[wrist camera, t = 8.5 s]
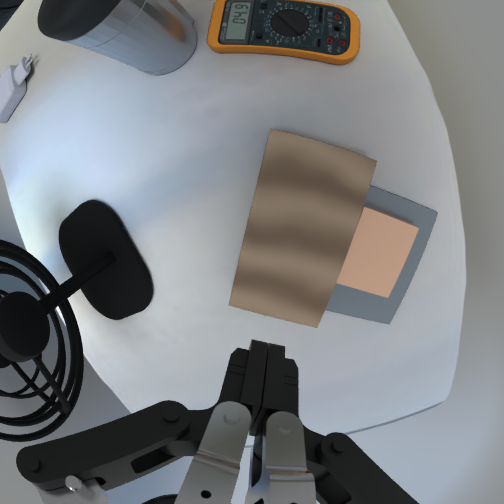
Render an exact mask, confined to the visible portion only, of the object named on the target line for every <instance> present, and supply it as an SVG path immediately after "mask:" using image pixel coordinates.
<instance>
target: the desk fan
mask: <svg viewBox="0 0 504 504" xmlns="http://www.w3.org/2000/svg"><path fill="white" fill-rule="evenodd" d="M59 245H60V249H61V253H62V256H63V258H64V260H65V262H66V264H67V266H68V268H69V270H70V272H71V273H72V275H73V276H72V277H71V278H69V279H68V280H67V281H65V282H64V283H62V284H61V285H59V284H58V282H57V281H56V279H55V278H54V277H53V275H52V274H51V273H50V272H49V271H48V270H47V268H46V267H45V266H44V265H43V264H42V263H41V262H40V261H39V260H37V259H36V258H35V257H34V256H33V255H31V254H30V253H28V252H27V251H25V250H24V249H22V248H20V247H19V246H16V245H14V244H12V243H10V242H7V241H4V240H0V248H1V249H0V256H2V257H6V258H9V259H12V260H14V261H17V262H19V263H20V264H22V265H24V266H25V267H27V268H28V269H29V270H31V271H32V272H33V273H34V274H35V275H36V276H37V277H38V278H39V279H40V280H41V281H42V282H43V283H44V284H45V286H46V287H47V288H48V290H49V291H50V293H48V294H47V295H45V294H44V292H43V291H42V290H41V289H40V288H39V286H38V285H37V284H36V283H35V282H34V281H33V280H32V279H31V278H30V277H29V276H28V275H26V274H25V273H24V272H22V271H21V270H19V269H18V268H16V267H14V266H13V265H11V264H8V263H6V262H2V261H0V273H1V274H9V275H13V276H15V277H18V278H20V279H22V280H23V281H25V282H26V283H27V284H29V285H30V286H31V288H32V289H33V290H34V291H35V292H36V293H37V295H38V296H39V297H40V298H41V299H40V300H39V301H38V300H36V299H35V298H34V297H33V296H31V295H30V294H28V293H25V292H12V293H7V292H5V291H3V290H0V368H5V367H7V366H9V365H10V364H11V365H12V366H13V367H14V369H15V370H16V371H17V372H18V374H19V375H20V376H21V377H22V378H23V379H24V381H25V382H26V383H27V385H26V386H25V387H24V388H23V389H21V390H19V391H17V392H14V393H7V392H5V391H2V390H0V396H5V397H11V398H18V399H24V398H31V397H34V396H37V395H39V396H40V397H41V398H42V399H43V400H44V401H46V403H45V404H44V405H43V406H42V407H41V408H39V409H38V410H37V411H35V412H33V413H32V414H29V415H26V416H22V417H16V418H10V417H2V416H0V423H3V424H6V425H11V426H31V425H35V424H38V423H41V422H43V421H45V420H47V419H49V418H50V417H52V416H53V415H54V414H55V413H56V412H58V411H59V412H60V413H61V414H60V415H59V416H58V417H57V418H56V419H55V420H54V421H53V422H52V423H51V424H49V425H48V426H46V427H45V428H43V429H41V430H39V431H36V432H33V433H29V434H22V435H13V434H5V433H1V432H0V439H3V440H7V441H13V442H25V441H32V440H37V439H40V438H43V437H45V436H47V435H49V434H50V433H52V432H54V431H55V430H56V429H58V428H59V427H60V426H61V425H62V424H63V423H64V422H65V421H66V419H67V418H68V417H69V415H70V414H71V412H72V410H73V409H74V407H75V405H76V402H77V400H78V397H79V394H80V390H81V386H82V380H83V369H84V360H83V359H84V358H83V347H82V340H81V335H80V331H79V327H78V324H77V321H76V318H75V315H74V312H73V310H72V307H71V305H70V303H69V301H68V299H67V298H69V297H70V296H71V295H72V294H74V293H75V292H76V291H78V290H79V289H81V290H82V292H83V294H84V295H85V297H86V298H87V300H88V301H89V302H90V304H91V305H92V306H93V307H94V308H95V309H96V310H97V311H98V312H99V313H101V314H102V315H104V316H105V317H107V318H110V319H113V320H120V319H123V318H126V317H128V316H131V315H133V314H136V313H138V312H141V311H143V310H144V309H146V308H147V306H148V305H149V304H150V302H151V299H152V284H151V280H150V277H149V274H148V272H147V269H146V267H145V265H144V264H143V262H142V260H141V258H140V257H139V255H138V253H137V251H136V250H135V248H134V246H133V244H132V243H131V241H130V239H129V237H128V235H127V234H126V232H125V230H124V228H123V226H122V224H121V223H120V221H119V219H118V218H117V217H116V215H115V214H114V213H113V212H112V211H111V210H110V209H109V208H108V207H107V206H106V205H104V204H103V203H101V202H98V201H94V200H91V201H87V202H84V203H82V204H81V205H80V206H78V207H77V208H76V209H75V210H74V211H73V212H72V213H71V214H70V215H69V216H68V217H67V218H66V219H65V220H64V221H63V222H62V224H61V226H60V229H59ZM1 294H2V295H4V297H3V298H2V296H1ZM57 306H59V308H60V310H61V313H62V315H63V318H64V321H65V324H66V327H67V331H68V335H69V340H70V350H71V363H70V372H69V376H68V380H67V384H66V386H65V389H64V391H63V392H62V390H61V387H62V383H63V380H64V375H65V367H66V352H65V344H64V338H63V334H62V330H61V327H60V323H59V320H58V317H57V315H56V312H55V310H54V309H55V308H56V307H57ZM48 314H50V316H51V319H52V321H53V324H54V327H55V330H56V333H57V337H58V359H57V363H56V366H55V369H54V372H53V374H52V375H51V374H50V372H49V371H48V369H47V368H46V366H45V365H44V363H43V362H42V360H41V359H42V351H43V350H44V349H45V347H46V346H47V343H48V341H49V336H50V325H49V320H48V317H47V315H48ZM30 359H33V361H34V362H35V364H36V365H37V367H36V371H35V373H34V375H33V377H32V379H30V378H29V377H28V376H27V375H26V374H25V373H24V372H23V370H22V369H21V368H20V367H19V365H18V364H17V363H16V362H25V361H28V360H30ZM39 371H41V372H42V374H43V375H44V377H45V378H46V380H47V383H46V384H45V385H44V386H42V387H41V388H38V387H37V386H36V385H35V383H34V381H35V380H36V378H37V376H38V374H39ZM58 372H59V375H58V379H57V383H56V381H55V378H56V377H57V374H58ZM74 380H75V381H74ZM73 384H74V386H73ZM50 386H51V387H52V389H53V392H52V394H51V396H50V397H48V396H47V395H46V394H45V393H44V391H45V390H46V389H48V388H49V387H50ZM30 387H31V388H32V389H33V390H34V392H32V393H29V394H23V395H19V394H22V393H23V392H24V391H26V390H28V389H29V388H30ZM72 387H73V390H72V393H71V396H70V398H69V401H67V398H68V396H69V394H70V392H71V389H72ZM57 397H58V398H59V399H58V401H57V402H55V400H56V398H57ZM50 406H52V408H50ZM49 408H50V409H49ZM48 409H49V410H48ZM46 410H48V411H47V412H46ZM44 412H45V413H44ZM43 413H44V414H43Z"/></svg>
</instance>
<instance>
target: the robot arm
mask: <svg viewBox="0 0 504 504" xmlns="http://www.w3.org/2000/svg"><path fill="white" fill-rule="evenodd" d="M23 1H24V0H0V31H1V29H2V28H3V27H4V26H5V25H6V23H7V22H8V21H9V19H10V18H11V17H12V15H13V14H14V13H15V11H16V10H17V9H18V7H19V6H20V5H21V3H22V2H23ZM193 23H194V20H193V18H192V17H191V16H190V15H189V14H188V13H187V11H186V10H185V9H184V8H183V7H182V6H181V5H180V4H179V2H178V1H177V0H43V1H42V3H41V6H40V9H39V13H38V27H39V30H40V31H41V32H42V33H43V34H44V35H46V36H48V37H50V38H54V39H57V40H61V41H64V42H67V43H70V44H74V45H77V46H80V47H83V48H86V49H89V50H91V51H94V52H97V53H100V54H102V55H105V56H108V57H110V58H113V59H115V60H118V61H120V62H123V63H125V64H127V65H130V66H132V67H134V68H137V69H138V70H140V71H143V72H146V73H148V74H152V75H163V74H167V73H170V72H172V71H174V70H176V69H178V68H179V67H181V66H182V65H183V64H184V63H185V62H187V61H188V59H189V58H190V57H191V55H192V54H193V52H194V50H195V47H196V44H197V35H196V31H195V29H194V28H193ZM249 430H250V431H249ZM248 432H249V435H250V436H255V440H254V445H253V447H252V449H251V454H250V471H249V487H248V491H247V494H246V499H245V504H316V500H317V501H318V502H319V503H320V504H419V503H417V501H415V500H414V499H413V498H412V497H411V496H410V495H409V494H408V493H406V492H405V491H404V490H403V489H402V488H401V487H400V486H399V485H398V484H397V483H396V482H394V481H393V480H392V479H391V478H390V477H389V476H388V475H387V474H386V473H385V472H384V471H383V470H382V469H380V467H379V466H378V465H376V463H375V462H373V460H372V459H370V458H369V457H368V456H367V455H366V454H365V453H364V452H363V451H362V450H361V449H360V448H359V447H358V446H357V445H356V444H355V442H354V441H353V440H351V439H350V438H349V437H348V436H347V435H345V434H343V433H338V432H334V433H330V434H328V435H326V436H324V435H321V434H318V433H316V432H313V431H311V430H309V429H308V428H306V427H305V426H304V425H303V424H302V422H301V420H300V419H299V414H298V367H297V365H296V363H295V361H294V360H293V359H288V358H285V346H280V345H276V344H271V343H269V344H268V343H266V342H262V341H257V340H253V339H252V340H251V344H250V347H249V350H246V349H242V348H237V349H236V350H235V351H234V352H233V353H232V354H231V356H230V360H229V364H228V367H227V371H226V375H225V378H224V382H223V386H222V390H221V393H220V397H219V400H218V402H217V403H216V404H215V405H214V406H213V407H211V408H208V409H205V410H188V409H187V408H186V407H185V406H184V405H182V404H181V403H179V402H176V401H170V400H167V401H162V402H159V403H157V404H154V405H152V406H150V407H147V408H145V409H142V410H140V411H137V412H135V413H132V414H130V415H127V416H125V417H122V418H119V419H117V420H114V421H112V422H109V423H106V424H103V425H100V426H97V427H94V428H91V429H88V430H86V431H82V432H79V433H76V434H73V435H69V436H66V437H63V438H59V439H56V440H52V441H48V442H44V443H41V444H36V445H32V446H28V447H24V448H23V449H21V450H20V451H19V453H18V455H17V458H16V464H17V467H18V470H19V472H20V473H21V475H22V476H23V477H24V478H25V479H27V480H28V481H30V482H32V484H33V485H34V486H35V487H36V488H37V489H38V491H39V494H40V496H41V498H42V500H43V502H44V504H107V502H108V497H107V493H106V491H107V490H109V489H112V488H115V487H118V486H120V485H123V484H125V483H128V482H130V481H133V480H135V479H137V478H140V477H142V476H144V475H146V474H149V473H151V472H153V471H155V470H157V469H160V468H162V467H164V466H166V465H168V464H169V463H171V462H173V461H176V460H178V459H180V458H181V457H183V456H194V458H193V460H192V462H191V464H190V467H189V469H188V472H187V474H186V477H185V479H184V482H183V484H182V486H181V489H180V491H179V493H178V494H170V495H163V496H159V497H156V498H153V499H151V500H148V501H147V502H144V503H142V504H230V502H231V499H232V495H233V492H234V488H235V485H236V482H237V478H238V474H239V470H240V461H241V457H242V454H243V450H244V447H245V443H246V439H247V435H248Z"/></svg>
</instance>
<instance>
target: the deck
mask: <svg viewBox="0 0 504 504" xmlns="http://www.w3.org/2000/svg"><path fill="white" fill-rule="evenodd" d="M376 162H377V161H376V160H373V159H371V158H368V157H365V156H362V155H360V154H357V153H354V152H351V151H348V150H345V149H342V148H339V147H336V146H333V145H330V144H326V143H323V142H320V141H316V140H313V139H309V138H306V137H302V136H298V135H295V134H291V133H287V132H283V131H279V130H275V129H270V132H269V136H268V140H267V144H266V148H265V153H264V157H263V161H262V165H261V169H260V173H259V177H258V181H257V185H256V190H255V194H254V198H253V202H252V206H251V210H250V215H249V219H248V223H247V227H246V231H245V236H244V240H243V244H242V248H241V253H240V257H239V261H238V266H237V270H236V274H235V279H234V283H233V287H232V292H231V296H230V300H229V305H230V306H233V307H237V308H240V309H244V310H248V311H251V312H255V313H259V314H263V315H266V316H270V317H274V318H278V319H282V320H286V321H290V322H294V323H298V324H303V325H307V326H311V327H315V328H317V327H318V325H319V323H320V320H321V318H322V316H323V313H324V311H325V309H326V306H327V304H328V302H329V299H330V297H331V294H332V292H333V290H334V287H335V285H336V282H337V280H338V277H339V274H340V272H341V269H342V267H343V264H344V261H345V259H346V256H347V253H348V251H349V248H350V245H351V242H352V239H353V237H354V234H355V231H356V228H357V225H358V222H359V219H360V216H361V213H362V210H363V206H364V203H365V200H366V197H367V194H368V190H369V187H370V183H371V180H372V177H373V173H374V169H375V166H376Z"/></svg>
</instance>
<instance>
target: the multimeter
mask: <svg viewBox="0 0 504 504" xmlns="http://www.w3.org/2000/svg"><path fill="white" fill-rule="evenodd" d="M207 43H208V45H209V46H210V48H211V49H212V50H214V51H215V52H218V53H265V54H277V55H287V56H294V57H301V58H306V59H312V60H317V61H322V62H327V63H331V64H338V65H342V64H347V63H349V62H350V61H352V60H353V59H354V58H355V56H356V55H357V53H358V51H359V47H360V21H359V19H358V17H357V15H356V14H354V13H353V12H352V11H351V10H349V9H347V8H345V7H342V6H338V5H332V4H326V3H320V2H313V1H305V0H216V1H215V3H214V6H213V11H212V16H211V20H210V25H209V30H208V35H207Z"/></svg>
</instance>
